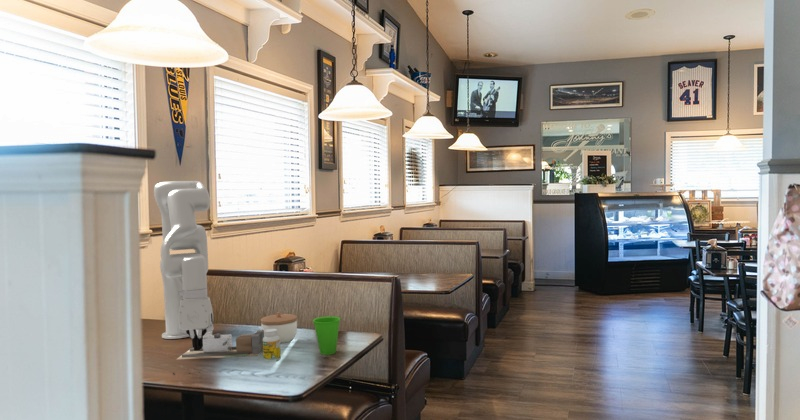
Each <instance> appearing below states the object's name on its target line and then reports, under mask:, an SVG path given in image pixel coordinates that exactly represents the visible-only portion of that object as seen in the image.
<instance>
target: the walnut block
mask: <svg viewBox="0 0 800 420" xmlns="http://www.w3.org/2000/svg"><path fill="white" fill-rule="evenodd" d="M253 334H254V333H253ZM253 334H252V333H251V334H250V333H249V334H240V335H238V336H237V337H236V338H235V347H236V351H237V352H246V351H250V353H252V335H253Z"/></svg>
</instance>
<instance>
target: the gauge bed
mask: <svg viewBox="0 0 800 420" xmlns="http://www.w3.org/2000/svg"><path fill="white" fill-rule="evenodd" d="M263 338H264V330H262V329H258V330H256V331H255V333H253V335H252V353H250V351H246V352H237V351H236V346H232V350H231V351H230V352H222V353H203V347H202V349H200V350H196V351H194V347H192V348H191V347H190V348H189V349H188V350H187V351H186V352H184V353H182V354H181V355H179V357H177V358H176V360H196V359H197V360H198V359H200V360H201V359H218V358H219V359H220V358H221V359H225V358H244V357H246V358H247V357H250V358H251V357H258V356H259V355H260V354H261V353H262V352H263Z"/></svg>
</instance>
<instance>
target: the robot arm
mask: <svg viewBox="0 0 800 420" xmlns="http://www.w3.org/2000/svg"><path fill="white" fill-rule="evenodd" d="M153 195H154V200H155V203H156V204H157V207H158V209H159V212H160V215H161V229H162V231H161V232H162V243H161V246H160V258H161V260H160V262H159V268H160V273H161V278H162V284H163V285H162V286H163V298H164V299H163V301H164V302H163V303H164V319H165V332H162V334H161V338H162V339H166V340H177V339H183V338H191V339H192V340H191V341H192V348H194V351H196V350H200V349H202V348H203V336H204V335H205V334H206V332H210V331H212V332H213V331H214V330H215V328H214V313H213V312H214V311H213V306H212V301H211V297H210V296H209V295H208V276H207V273H208V272H209V251H208V236H207V235H208V234H207V232H206V229H205V227H204V226H203V225H201V224H197V220H196V219H197V218H196V214H195V212H205V211H209V209H210V207H211V197H210V194H209V190H208V189H207V187H206V186H205V185H204V184H203V182H201V181H199V180H172V181H171V180H169V181H168V180H167V181H161V182H159V183H156V184H155V185H154V188H153ZM185 250H186V251H187V250H194V252H184V253H183V252H182V253H172V254H171V253H170V251H185ZM196 330H198V336H197V331H196Z"/></svg>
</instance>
